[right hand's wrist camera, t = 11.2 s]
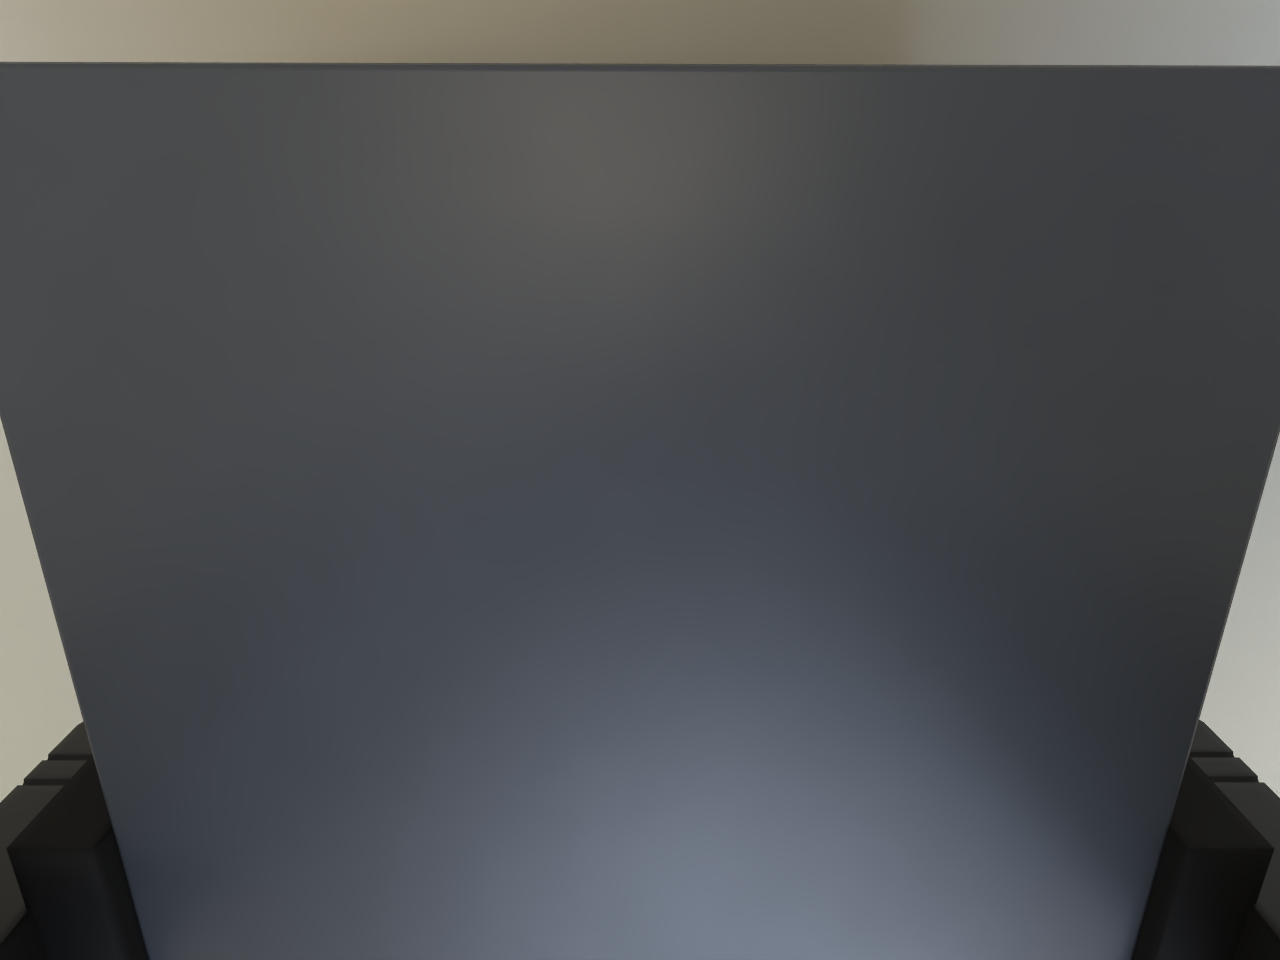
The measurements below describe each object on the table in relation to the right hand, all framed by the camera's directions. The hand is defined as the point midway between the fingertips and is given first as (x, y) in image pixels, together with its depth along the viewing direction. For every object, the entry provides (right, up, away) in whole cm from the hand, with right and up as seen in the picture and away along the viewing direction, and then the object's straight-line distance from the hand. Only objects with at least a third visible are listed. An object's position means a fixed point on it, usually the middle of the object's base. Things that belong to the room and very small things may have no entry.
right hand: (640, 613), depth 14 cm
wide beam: (0, -21, +9) cm, 22 cm away
